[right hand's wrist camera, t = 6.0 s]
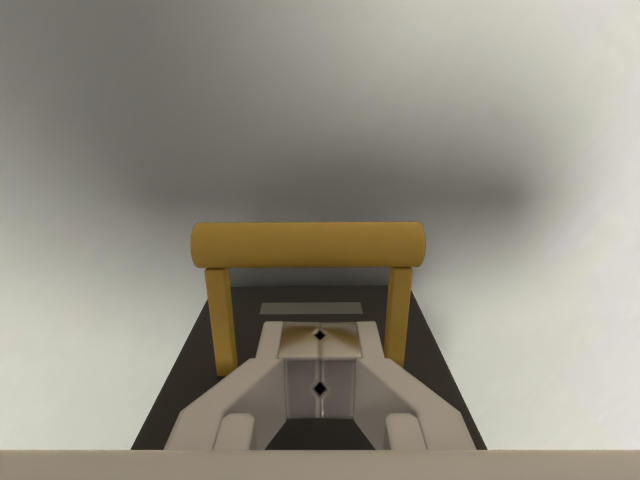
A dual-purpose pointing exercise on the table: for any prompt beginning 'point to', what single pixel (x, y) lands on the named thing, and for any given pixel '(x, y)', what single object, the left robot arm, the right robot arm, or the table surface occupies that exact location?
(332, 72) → the table surface
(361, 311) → the drawer
